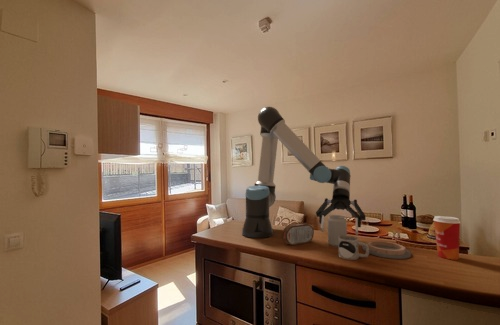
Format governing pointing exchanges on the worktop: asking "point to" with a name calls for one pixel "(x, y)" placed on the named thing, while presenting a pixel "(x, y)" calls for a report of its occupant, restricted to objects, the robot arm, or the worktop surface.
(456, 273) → the worktop surface
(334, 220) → the can
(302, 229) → the tin
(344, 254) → the mug
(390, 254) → the coaster
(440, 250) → the paper cup
